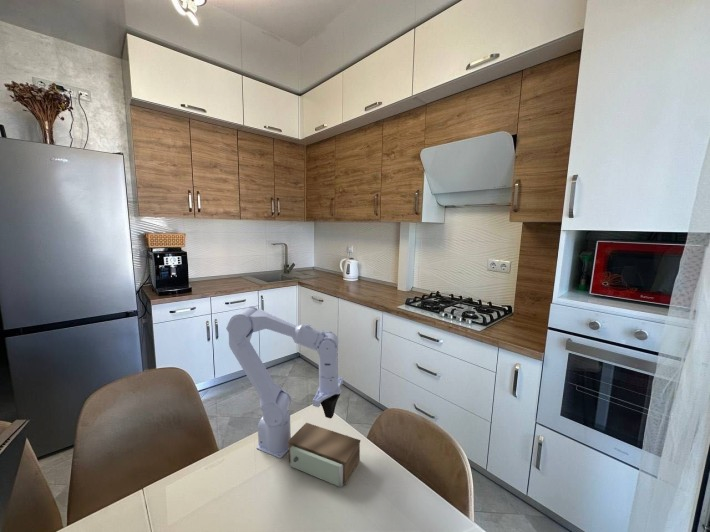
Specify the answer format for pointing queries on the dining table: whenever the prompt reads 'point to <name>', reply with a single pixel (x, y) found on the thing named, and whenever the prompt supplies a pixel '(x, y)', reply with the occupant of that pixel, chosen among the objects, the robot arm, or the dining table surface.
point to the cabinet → (328, 446)
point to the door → (317, 466)
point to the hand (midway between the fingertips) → (329, 416)
